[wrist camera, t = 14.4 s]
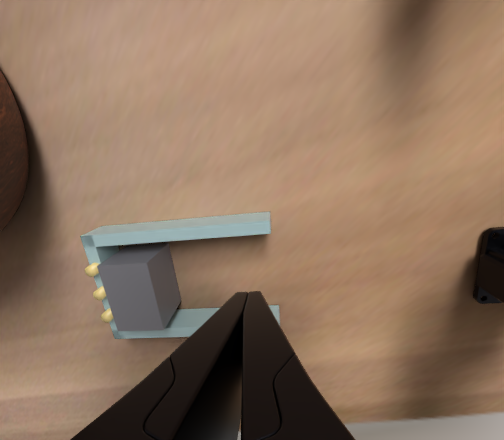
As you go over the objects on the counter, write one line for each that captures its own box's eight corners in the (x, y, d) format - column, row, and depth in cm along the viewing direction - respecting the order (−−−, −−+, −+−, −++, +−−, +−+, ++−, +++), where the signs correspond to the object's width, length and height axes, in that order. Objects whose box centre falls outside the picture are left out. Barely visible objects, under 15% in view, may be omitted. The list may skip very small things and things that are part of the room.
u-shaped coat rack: (270, 211, 20) (269, 223, 17) (279, 314, 23) (280, 340, 20) (101, 226, 21) (73, 239, 18) (130, 319, 24) (109, 344, 21)
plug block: (169, 242, 22) (146, 263, 18) (181, 300, 23) (163, 330, 19) (124, 245, 22) (93, 266, 18) (140, 301, 24) (114, 331, 20)
